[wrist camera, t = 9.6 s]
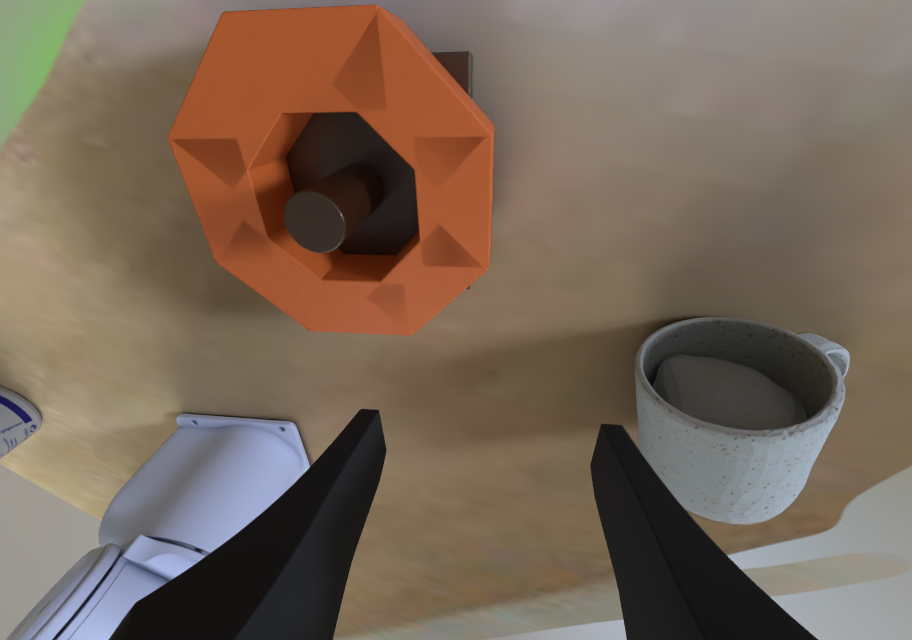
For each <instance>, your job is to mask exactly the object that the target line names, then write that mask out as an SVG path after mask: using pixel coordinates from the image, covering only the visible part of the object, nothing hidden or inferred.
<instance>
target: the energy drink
mask: <svg viewBox="0 0 912 640" xmlns="http://www.w3.org/2000/svg"><path fill="white" fill-rule="evenodd" d="M41 421H42V419H41V416H40V414H39V412H38V411H37V409H36V408H35V407H34V406H33V405H32V404H31V403H29V402H28V401H27V400H26V399H24V398H23V397H21V396H20V395H18V394H16V393H14V392H12V391H10V390H8V389H5V388H3V387H0V459H1V458H2V457H3V456H5V455H6V454H7V453H9V452H10V451H11V450H13V449H14V448H15V447H17V446H18V445H19V444H21V443H22V442H23V441H25V440H26V439H27V438H29V437H30V436H31V435H33V434H34V433H35V432H37V431H38V430H39V429H40V426H41Z"/></svg>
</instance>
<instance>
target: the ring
mask: <svg viewBox="0 0 912 640" xmlns="http://www.w3.org/2000/svg"><path fill="white" fill-rule="evenodd" d="M333 112H357V113H358V114H359V115H360V116H361V117H362V118H363V119H364V120H365V121H366V122H367V123H368V124H369V125H370V126H371V127H372V128H373V129H374V130H375V131H376V132H377V133H378V134H379V135H380V136H381V137H382V138H383V139H384V140H385V141H386V142H387V143H388V144H389V145H390V146H391V147H392V148H393V149H394V150H395V151H396V152H397V153H398V154H399V155H400V156H401V157H402V158H403V159H404V160H405V161H406V162H407V163H408V164H409V165H410V166H411V167H412V168H413V169H414V172H415V185H416V198H417V212H418V225H419V232H418V233H417V234H416V235H415V236H414V237H413V238H412V239H411V240H410V241H409V242H408V243H407V244H406V245H405V246H404V247H403V248H402V249H401V250H400V252H399V253H398V254H397V255H360V254H344V253H343V252H342V251H341V250H340V249H338V248H337V249H336V250H334V251H331V252H328V253H316V252H312V251H309V250H307V249H305V248H303V247H302V246H300V245H299V244H298V243H297V242H296V241H295V240H294V239H293V238H292V237H291V235H290V234H289V232H288V230H287V228H286V225H285V222H284V209H285V205H286V203H287V201H288V200H289V198H290V197H291V196H293V195H294V194H295V193H294V189H293V185H292V181H291V177H290V173H289V169H288V164H287V160H286V156H287V154H288V153H289V151H290V149H291V148H292V146H293V145H294V143H295V142H296V140H297V138H298V137H299V135H300V134H301V132H302V130H303V129H304V127H305V126H306V124H307V123H308V121H309V119H310V118H311V116H312V115H313V113H333ZM494 133H495V127H494V125H493V123H492V122H491V121H490V119H489V118H488V117H487V116H486V115H485V114H484V113H483V111H482V110H481V109H480V108H479V107H478V106H477V105H476V103H475V102H474V101H473V100H472V99H471V98H470V97H469V95H468V94H467V93H466V92H465V91H464V90H463V89H462V87H461V86H460V85H459V84H458V83H457V82H456V81H455V79H454V78H453V77H452V76H451V75H450V74H449V73H448V72H447V70H446V69H445V68H444V67H443V66H442V65H441V64H440V62H439V61H438V60H437V59H436V58H435V57H434V56H433V54H432V53H431V52H430V51H429V50H428V49H427V48H426V46H425V45H424V44H423V43H422V42H421V41H420V40H419V38H418V37H417V36H416V35H415V34H414V33H413V32H412V30H411V29H410V28H409V27H408V26H407V25H406V24H405V22H404V21H403V20H402V19H400V18H399V17H397V16H395V15H394V14H392V13H390V12H388V11H387V10H385V9H383V8H382V7H380V6H378V5H356V6H334V7H313V8H291V9H270V10H248V11H227V12H223V13H222V14H221V17H220V19H219V21H218V23H217V26H216V28H215V30H214V33H213V35H212V37H211V39H210V42H209V44H208V46H207V49H206V51H205V53H204V55H203V58H202V60H201V62H200V65H199V67H198V69H197V71H196V74H195V76H194V78H193V81H192V83H191V85H190V87H189V90H188V92H187V94H186V97H185V99H184V101H183V103H182V106H181V108H180V110H179V113H178V115H177V117H176V119H175V122H174V124H173V126H172V129H171V131H170V133H169V135H168V140H169V143H170V145H171V148H172V150H173V153H174V156H175V158H176V161H177V163H178V166H179V168H180V171H181V174H182V176H183V179H184V181H185V184H186V186H187V189H188V192H189V194H190V197H191V199H192V202H193V204H194V207H195V210H196V212H197V215H198V217H199V220H200V222H201V225H202V228H203V230H204V233H205V235H206V238H207V240H208V243H209V246H210V248H211V251H212V253H213V256H214V258H215V261H216V262H217V263H218V264H219V265H221V266H222V267H224V268H225V269H226V270H228V271H229V272H230V273H232V274H233V275H234V276H236V277H237V278H238V279H240V280H241V281H243V282H244V283H245V284H247V285H248V286H249V287H251V288H252V289H253V290H255V291H256V292H257V293H259V294H260V295H262V296H263V297H264V298H266V299H267V300H268V301H270V302H271V303H272V304H274V305H275V306H276V307H278V308H279V309H280V310H282V311H283V312H285V313H286V314H287V315H289V316H290V317H291V318H293V319H294V320H295V321H297V322H298V323H299V324H301V325H302V326H304V327H305V328H306V329H308V330H309V331H323V332H345V333H367V334H389V335H413V334H414V333H415V332H416V331H417V330H419V329H420V328H421V327H422V326H423V325H424V324H426V323H427V322H428V321H429V320H430V319H431V318H432V317H434V316H435V315H436V314H437V313H438V312H439V311H441V310H442V309H443V308H444V307H445V306H446V305H447V304H449V303H450V302H451V301H452V300H453V299H454V298H456V297H457V296H458V295H459V294H460V293H461V292H462V291H464V290H465V289H466V288H467V287H468V286H469V285H471V284H472V283H473V282H474V281H475V280H476V279H477V278H479V277H480V276H481V275H482V274H483V273H484V272H486V271H487V270H488V268H489V262H490V250H491V232H492V199H493V166H494Z"/></svg>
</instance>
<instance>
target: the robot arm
mask: <svg viewBox="0 0 912 640" xmlns="http://www.w3.org/2000/svg"><path fill="white" fill-rule="evenodd" d="M176 422H177V423H178V425H179V427H178V428H177V430H176V431H175V432H174V433H173V434H172V435H171V436H170V437H169V438H168V439H167V440H166V441H165V442H164V443H163V444H162V446H161V447H160V448H159V449H158V450H157V451H156V452H155V453H154V454H153V455H152V456H151V457H150V458H149V459H148V460H147V462H146V463H145V464H144V465H143V466H142V467H141V468H140V469H139V470H138V471H137V472H136V473H135V474H134V475H133V476H132V478H131V479H130V480H129V481H128V482H127V483H126V484H125V485H124V486H123V487H122V488H121V489H120V491H119V492H118V493H117V494H116V495H115V497H114V498H113V500H112V501H111V503H110V505H109V506H108V508H107V510H106V512H105V514H104V517H103V519H102V522H101V525H100V530H99V544H100V547H99V548H96V549H93V550H91V551H89V552H88V553H87V554H86V555H85V556H83V557H82V558H81V559H80V560H79V561H78V562H77V563H76V564H75V565H74V566H73V567H72V568H71V569H70V570H69V571H68V572H67V573H66V574H65V575H64V576H63V577H62V578H61V579H60V580H59V581H58V582H57V583H56V584H55V585H54V586H53V587H52V588H51V590H50V591H49V592H48V593H47V594H46V595H45V596H44V597H43V598H42V599H41V600H40V601H39V602H38V603H37V605H36V606H35V607H34V608H33V609H32V610H31V611H30V612H29V614H28V615H27V616H26V617H25V618H24V619H23V620H22V621H21V623H20V624H19V625H18V626H17V627H16V628H15V630H14V631H13V632H12V633H11V634H10V635H9V636H8V638H7V639H6V640H333V636H334V631H335V627H336V623H337V619H338V615H339V611H340V606H341V602H342V598H343V594H344V590H345V586H346V582H347V578H348V574H349V571H350V567H351V563H352V560H353V556H354V553H355V550H356V547H357V544H358V541H359V538H360V536H361V533H362V530H363V527H364V524H365V521H366V519H367V516H368V513H369V510H370V507H371V504H372V502H373V499H374V496H375V493H376V490H377V487H378V484H379V481H380V477H381V473H382V469H383V464H384V460H385V455H386V445H385V440H384V435H383V429H382V424H381V418H380V413H379V410H370V409H361V410H360V411H359V412H358V413H357V414H356V415H355V416H354V418H353V419H352V420H351V421H350V422H349V424H348V425H347V426H346V427H345V428H344V430H343V431H342V432H341V433H340V434H339V436H338V437H337V438H336V439H335V440H334V441H333V443H332V444H331V445H330V446H329V447H328V448H327V449H326V450H325V451H324V453H323V454H322V455H321V456H320V457H319V458H318V459H317V460H316V461H315V462H314V464H313V465H312V466H311V467H310V464H309V461H308V458H307V456H306V453H305V450H304V447H303V444H302V441H301V438H300V436H299V433H298V430H297V427H296V425H295V424H294V423H292V422H289V421H277V420H263V419H250V418H236V417H223V416H209V415H196V414H179V415H178V416H177V417H176ZM590 467H591V474H592V482H593V488H594V495H595V500H596V504H597V508H598V512H599V516H600V520H601V524H602V527H603V531H604V535H605V539H606V542H607V546H608V550H609V554H610V558H611V561H612V565H613V569H614V573H615V577H616V581H617V586H618V590H619V596H620V602H621V607H622V613H623V619H624V625H625V630H626V637H627V640H818V639H816V638H815V637H814V636H813V635H812V634H810V633H809V632H808V631H807V630H806V629H805V628H804V627H803V626H801V625H800V624H799V623H798V622H797V621H796V620H794V619H793V618H792V617H791V616H790V615H789V614H788V613H786V612H785V611H784V610H783V609H782V608H781V607H780V606H779V605H778V604H777V603H776V602H775V601H774V600H772V599H771V598H770V597H769V596H768V595H767V594H766V593H765V592H764V591H763V590H762V589H761V588H760V587H758V586H757V585H756V584H755V583H754V582H753V581H752V580H751V579H750V578H749V577H748V576H747V575H746V574H745V573H744V572H743V571H742V570H741V569H739V567H738V566H737V565H736V564H735V563H734V562H733V561H732V560H731V559H730V558H728V556H727V555H726V554H725V553H724V552H723V551H722V550H721V549H720V548H719V547H718V546H717V545H716V544H715V543H714V542H713V541H712V539H711V538H710V537H709V536H708V535H707V534H706V533H705V532H704V531H703V530H702V528H701V527H700V526H699V525H698V524H697V523H696V522H695V521H694V519H693V518H692V517H691V516H690V515H689V513H688V512H687V511H686V510H685V509H684V508H683V506H682V505H681V504H680V503H679V502H678V500H677V499H676V498H675V497H674V495H673V494H672V493H671V492H670V490H669V489H668V488H667V487H666V485H665V484H664V483H663V481H662V480H661V479H660V478H659V476H658V475H657V474H656V472H655V471H654V470H653V468H652V467H651V466H650V464H649V463H648V462H647V460H646V459H645V457H644V456H643V455H642V453H641V452H640V450H639V449H638V448H637V446H636V445H635V443H634V442H633V440H632V439H631V438H630V436H629V435H628V433H627V432H626V430H625V429H624V428H623V426H622V425H611V424H601V426H600V430H599V434H598V438H597V442H596V446H595V450H594V453H593V457H592V461H591V465H590Z"/></svg>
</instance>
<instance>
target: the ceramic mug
mask: <svg viewBox="0 0 912 640" xmlns="http://www.w3.org/2000/svg"><path fill="white" fill-rule="evenodd" d="M849 362H850V354H849V352H848V351H847V350H846V349H845V348H843V347H842V346H840V345H839V344H836V343H834V342H831V341H829V340H827V339H825V338H823V337H821V336H818V335H816V334H813V333H808V332H802V333H797V334H795V333H793V332H791V331H789V330H785V329H782V328H780V327H778V326H775V325H771V324H767V323H763V322H760V321H755V320H748V319H743V318H735V317H704V318H694V319H688V320H683V321H679V322H675V323H672V324H670V325H667V326H665V327H662V328H660V329H659V330H657V331H656V332H654V333H653V334H651V335H650V336H648V337H647V339H646V340H645V341H644V342H643V343H642V344H641V346H640V348H639V350H638V352H637V354H636V357H635V383H636V404H637V417H638V440H639V448H640V452H641V453H642V455H643V456H644V457H645V459H646V460H647V462H648V463H649V464H650V466H651V467H652V468H653V470H654V471H655V472H656V474H657V475H658V476H659V478H660V479H661V480H662V481H663V483H664V484H665V485H666V487H667V488H668V489H669V490H670V492H671V493H672V494H673V495H674V497H675V498H676V499H677V500H678V502H679V503H680V504H681V505H682V506H683V508H684V509H685V510H686V511H687V512H689V513H691V514H693V515H695V516H697V517H700V518H702V519H705V520H709V521H712V522H716V523H723V524H729V525H735V526H738V525H752V524H757V523H761V522H764V521H767V520H769V519H771V518H773V517H775V516H776V515H778V514H780V513H781V512H782V511H784V510H785V509H786V508H787V507H788V506H789V505H790V504H791V503H792V502H793V501H794V500H795V499H796V497H797V496H798V495H799V493H800V492H801V490H802V489H803V487H804V485H805V483H806V481H807V478H808V476H809V473H810V470H811V468H812V465H813V463H814V462H815V460H816V458H817V456H818V454H819V452H820V450H821V448H822V446H823V444H824V442H825V441H826V439H827V437H828V435H829V433H830V431H831V429H832V427H833V426H834V424H835V422H836V420H837V418H838V416H839V413H840V411H841V408H842V405H843V402H844V397H845V392H846V391H845V387H844V383H843V380H844V377H845V375H846V373H847V370H848V367H849Z"/></svg>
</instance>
